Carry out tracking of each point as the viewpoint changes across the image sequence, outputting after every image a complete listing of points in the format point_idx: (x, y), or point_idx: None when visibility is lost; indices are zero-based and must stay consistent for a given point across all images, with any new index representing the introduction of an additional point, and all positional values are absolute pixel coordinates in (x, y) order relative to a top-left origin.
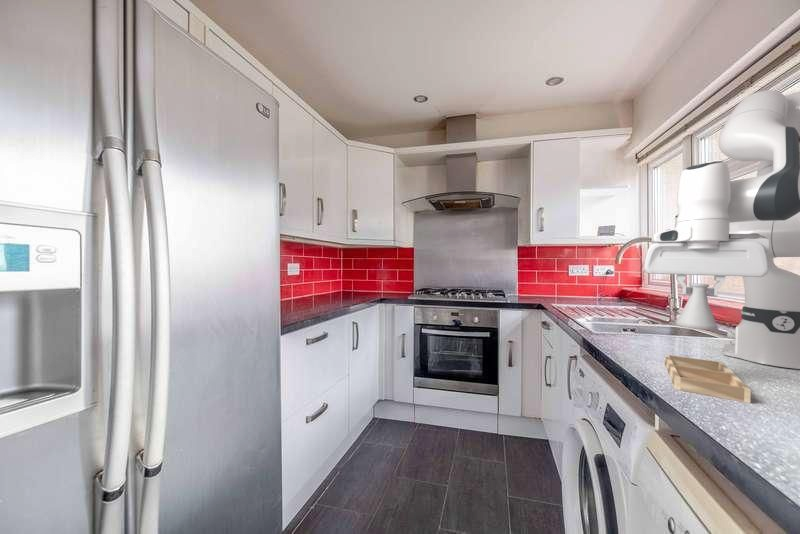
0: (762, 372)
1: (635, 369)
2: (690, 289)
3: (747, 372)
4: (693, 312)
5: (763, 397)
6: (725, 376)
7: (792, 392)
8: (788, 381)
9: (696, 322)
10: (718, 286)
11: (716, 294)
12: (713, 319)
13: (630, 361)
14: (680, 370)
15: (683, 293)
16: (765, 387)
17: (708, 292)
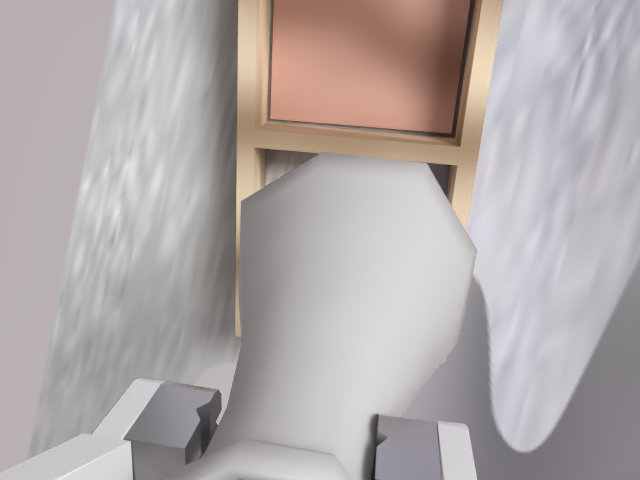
0: (115, 398)
1: (607, 164)
2: (391, 457)
3: (161, 371)
4: (383, 237)
5: (189, 25)
6: (272, 129)
7: (85, 169)
8: (66, 317)
9: (370, 182)
10: (64, 453)
11: (139, 383)
12: (249, 235)
13: (591, 306)
14: (433, 140)
15: (464, 425)
16: (151, 184)
17: (200, 442)
